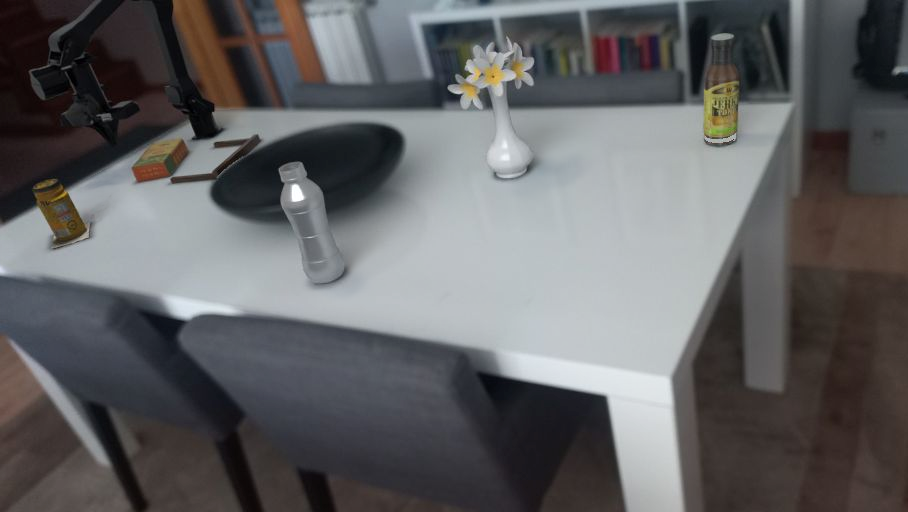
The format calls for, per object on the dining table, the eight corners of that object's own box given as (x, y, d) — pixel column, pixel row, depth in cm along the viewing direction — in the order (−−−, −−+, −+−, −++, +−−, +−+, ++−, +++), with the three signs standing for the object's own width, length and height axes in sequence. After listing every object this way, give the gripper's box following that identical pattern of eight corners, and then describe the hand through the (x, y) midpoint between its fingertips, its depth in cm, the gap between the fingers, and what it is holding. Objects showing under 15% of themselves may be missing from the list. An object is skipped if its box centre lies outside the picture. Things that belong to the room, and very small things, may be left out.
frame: (217, 146, 190) (214, 138, 189) (260, 141, 187) (258, 134, 186) (171, 183, 172) (168, 175, 171) (219, 178, 169) (216, 171, 168)
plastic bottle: (311, 271, 123) (272, 162, 113) (350, 264, 123) (315, 154, 113) (305, 291, 118) (264, 179, 107) (346, 284, 118) (309, 170, 107)
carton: (189, 152, 190) (182, 136, 187) (170, 176, 176) (163, 160, 174) (158, 157, 190) (151, 142, 187) (136, 182, 176) (129, 166, 174)
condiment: (89, 223, 159) (63, 173, 152) (89, 238, 152) (61, 186, 146) (54, 235, 157) (26, 184, 150) (52, 250, 150) (22, 198, 144)
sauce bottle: (711, 150, 137) (710, 44, 126) (698, 139, 142) (695, 36, 132) (744, 143, 137) (745, 36, 127) (729, 132, 143) (729, 29, 132)
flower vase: (461, 193, 140) (433, 64, 126) (503, 153, 153) (481, 33, 140) (522, 197, 134) (500, 62, 121) (560, 155, 147) (543, 29, 134)
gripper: (30, 101, 169) (62, 163, 177) (98, 92, 165) (128, 155, 173) (61, 85, 178) (91, 145, 186) (127, 76, 174) (154, 137, 182)
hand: (115, 146), depth 182 cm, fingers closed
